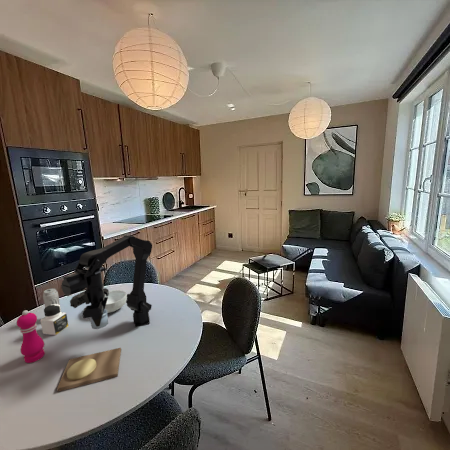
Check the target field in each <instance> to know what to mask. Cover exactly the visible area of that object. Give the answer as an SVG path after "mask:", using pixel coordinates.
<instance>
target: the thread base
mask: <svg viewBox="0 0 450 450" xmlns="http://www.w3.org/2000/svg"><path fill="white" fill-rule="evenodd" d="M121 353H122V348H121V347H118V348H113V349H108V350H105V351H99V352H96V353H91V354H87V355H83V356H77V357H74V358H73V357H72V358H69V360H68V362H67V364H66V367H65V368H64V371H63V374H62V376H61V378H60V381H59V384H58V385H57V387H56V391H57V392H62V391H67V390H70V389H75V388H78V387H81V386H85V385H89V384H94V383H97V382H101V381H105V380H108V379H113V378H117V377H118V376H119V370H120V369H119V368H120V363H121V362H120V361H121V355H122V354H121Z"/></svg>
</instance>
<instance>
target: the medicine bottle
mask: <svg viewBox="0 0 450 450" xmlns="http://www.w3.org/2000/svg"><path fill="white" fill-rule="evenodd" d="M60 307H61V304H60V305H59V304H52V305H49V306H47V307H46V308H45V307H44V308H43V313H44V317H43V318H41V319H40V325H41V331H42V334H43V335H50V336H57V335H59V334H60V333H61V332H62V331H64V330H65V329H67V328H68V327H69V321H68V316H67V312H64V311H63V312H62V308H61V309H60Z"/></svg>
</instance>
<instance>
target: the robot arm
mask: <svg viewBox="0 0 450 450" xmlns="http://www.w3.org/2000/svg"><path fill="white" fill-rule="evenodd" d="M129 247H131V248H132V253H133V255H134V258H135V261H134V262H135V263H134V272H133V282H132V290H131V292H129V293H126V294H127V300H126V302H125V304H126V306H127V307H128V309H130V310H131V311H133V313H132V319H133V324H134V327H140V326H144V325H150V324H151V322H150V321H151V320H150V311H151V310H152V307H153V305H152V304H151V303H150V302H149V303H148V302H147V294H146V292H145V283H146V280H145V279H146V269H147V261H148V259H149V257H150V255H151V253H152V250H153V244H152V242H151V241H150V240H145V239H141V238H138V237H136V236H134V235H129V234H125V235H123V236H122V237H120V238H119V239H117V240H115V241H113V242H111V243H109V244H107V245H105V246H104V247H102V248H99V249H94V250H90V251H87V252H84V253H81V255H80V257H79V261H78V263H77V265H76V267H75V269H74V271H73V272H74V273H73V274H70V275H65V276H63V277H62V278H63V280H62V281H61V285H60V286H61V291H62V293H63V294H64V295H65V296H66V297H70V296H72V295H74V296H72V297H71V299H70V300H69V306H70V307H73V309H76V308H78V307H79V306H81V305H83V304H85V305H86V306H85V307H84V309H83V310H82V312H81V313H82V318H83V319H87V318H88V319H90V318H89V317H91V318H92V319H93V321H94V323H95V325H96V326H100V323H101V319H102V315H103V312H104V309H105V307H106V303H107V299H108V297H105V294H106V296H108V295H109V291H110V290H109V289H108V288H107V287H105V283H103V278H102V277H103V275H102V273H103V272H105V271H107V268H106V267H104V266H103V265H104V264H105V263H106V262H107V260H108V259H109V258H111V257H113V256H115V255H117V254H118V253H119V252H121V251H123V250H125V249H127V248H129ZM89 304H90V305H89Z"/></svg>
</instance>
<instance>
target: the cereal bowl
mask: <svg viewBox="0 0 450 450" xmlns="http://www.w3.org/2000/svg"><path fill="white" fill-rule="evenodd" d="M127 294H128V293H127V291H124V290H120V289H115V290H109V295H108V296H106V294H105V297H108V299H107V303H106V307H105V309H106V310H107V312H108V313H107V314H109V313H114V312H115V311H117V310H119V309H121V308H122V307H124V305H125V304H126V300H127Z"/></svg>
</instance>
